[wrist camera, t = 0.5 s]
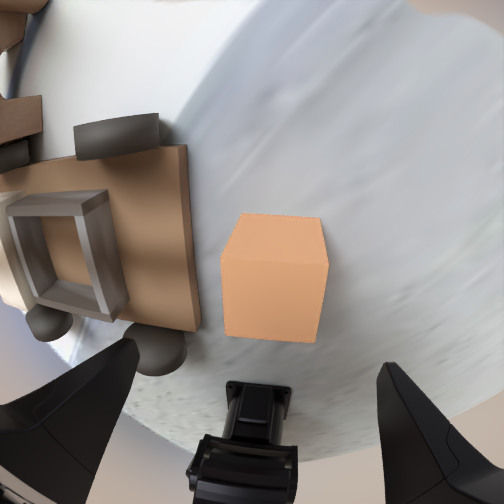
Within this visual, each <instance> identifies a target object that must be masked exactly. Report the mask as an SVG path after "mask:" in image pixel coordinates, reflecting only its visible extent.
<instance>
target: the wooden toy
mask: <svg viewBox="0 0 504 504" xmlns="http://www.w3.org/2000/svg"><path fill="white" fill-rule="evenodd" d="M47 2H48V0H0V55H1V54H2V52H5V51H7V50H8V49H10V48H11V47H13V46H14V45H16V44H17V43H19V42H20V41H22V40H23V38H24V30H25V23H26V17H27V14H34V13H37V12H39V11H40V10H41V9H42V8H43V7H44V6H45V5H46V3H47ZM42 131H43V127H42V107H41V95H38V96H29V97H21V98H15V99H9V100H6V99H5V98H3V97H2V95H1V94H0V148H3V147H6V146H9V145H12V144H15V143H18V142H21V141H22V138H23V137H26V136H30V135H33V134H36V133H39V132H42Z"/></svg>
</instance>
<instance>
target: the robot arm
mask: <svg viewBox="0 0 504 504" xmlns="http://www.w3.org/2000/svg"><path fill="white" fill-rule="evenodd" d="M139 360H140V352H139V349H138V346H137V343H136V341H135V339H133V338H129V337H124V338H122V339H120V340H119V341H117V342H115V343H114V344H112V345H110V346H109V347H107V348H105V349H104V350H102V351H101V352H99V353H97V354H96V355H94V356H92V357H91V358H89V359H87V360H86V361H84V362H82V363H81V364H79V365H77V366H76V367H74V368H73V369H71V370H69V371H68V372H66V373H64V374H63V375H61V376H59V377H58V378H56V379H54V380H53V381H51V382H49V383H48V384H46V385H44V386H43V387H41V388H39V389H37V390H35V391H33V392H31V393H29V394H27V395H25V396H22V397H20V398H18V399H16V400H14V401H12V402H10V403H7V404H4V405H0V504H85V503H86V500H87V497H88V494H89V492H90V489H91V486H92V483H93V480H94V478H95V475H96V472H97V470H98V467H99V464H100V462H101V459H102V457H103V454H104V452H105V449H106V446H107V444H108V442H109V439H110V437H111V434H112V432H113V429H114V427H115V425H116V422H117V420H118V418H119V415H120V413H121V410H122V408H123V406H124V404H125V401H126V399H127V397H128V394H129V392H130V389H131V386H132V382H133V379H134V376H135V373H136V370H137V367H138V364H139ZM376 384H377V412H378V425H379V433H380V441H381V450H382V460H383V470H384V482H385V500H386V504H504V469H501V468H499V467H497V466H495V465H493V464H492V463H491V462H490V461H489V460H487V459H486V458H485V457H484V456H483V455H482V454H481V453H480V452H479V451H478V450H477V449H475V448H474V447H473V446H472V445H471V444H470V443H469V442H468V441H467V440H466V439H465V438H464V437H463V436H462V435H461V434H460V433H459V432H458V430H456V428H455V427H454V426H453V425H452V424H450V422H449V420H448V419H447V418H446V417H445V416H444V415H443V414H442V413H441V411H440V410H439V409H438V408H437V407H436V406H435V405H434V404H433V403H432V401H431V400H430V399H429V398H428V397H427V396H426V395H425V394H424V393H423V392H422V390H421V389H420V388H419V387H418V386H417V385H416V384H415V383H414V382H413V381H412V379H411V378H410V377H409V376H408V375H407V374H406V373H405V372H404V371H403V370H402V369H401V368H400V367H399V365H398V364H397V363H395V362H385V363H384V364H383V365H382V368H381V370H380V372H379V374H378V377H377V382H376ZM226 394H227V403H228V414H227V419H226V423H225V427H224V431H223V435H222V438H220V437H215V436H211V435H209V434H205V436H204V438H203V439H202V440H200V442H199V445H198V448H197V452H196V454H195V456H194V458H193V460H192V461H191V463H190V465H189V467H188V468H187V470H186V476H187V477H188V479H189V489H190V491H192V492H194V498H193V504H293V503H294V499H295V496H296V490H297V482H298V446H293V445H292V446H282V445H281V439H282V429H283V420H285V419H286V415H287V411H288V406H289V401H290V396H291V388H289V387H281V386H269V385H258V384H249V383H240V382H232V381H228V382H227V383H226Z"/></svg>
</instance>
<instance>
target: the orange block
mask: <svg viewBox="0 0 504 504" xmlns="http://www.w3.org/2000/svg"><path fill="white" fill-rule="evenodd" d="M220 260H221V278H222V295H223V311H224V326H225V335H227V336H235V337H245V338H254V339H265V340H277V341H290V342H305V343H315V339H316V334H317V329H318V325H319V319H320V314H321V309H322V304H323V298H324V293H325V287H326V281H327V275H328V269H329V262H328V257H327V252H326V246H325V241H324V237H323V232H322V227H321V222H320V218H312V217H298V216H283V215H267V214H249V213H242V214H241V216H240V218H239V220H238V222H237V224H236V226H235V228H234V230H233V232H232V234H231V236H230V238H229V240H228V242H227V245H226V247H225V249H224V251H223V253H222V255H221V257H220Z"/></svg>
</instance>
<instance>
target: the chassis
mask: <svg viewBox="0 0 504 504" xmlns="http://www.w3.org/2000/svg"><path fill="white" fill-rule="evenodd" d="M73 129H74V141H75V151H76V155H74V156H68V157H62V158H56V159H51V160H45V161H40V162H35V163H31V164H28V163H30V157H29V148H28V140H25V141H22V142H19V143H15V144H12V145H9V146H6V147H3V148H0V295H1V297H2V299H3V301H4V303H5V304H8V305H11V306H13V307H16V308H18V309H21V310H24V311H27V313H26V322H27V324H28V325H29V327H30V329H31V331H32V333H33V335H34V337H35V338H36V339H37V340H39V341H42V342H50V341H54V340H56V339H59V338H60V337H62V336H63V335H65V334H66V333H67V332H68V331H69V329H70V328H71V326H72V324H73V317H72V315H71V313H73V314H77V315H81V316H85V317H89V318H93V319H97V320H102V321H106V322H110V323H113V322H114V321H115V319H116V318H117V319H122V320H127V321H132V322H135V323H133V324H132V325H131V326H129V327H128V329H127V330H126V331H125V333H124V335H123V338H124V337H129V338H133V339H135V341H136V343H137V346H138V349H139V352H140V360H139V364H138V367H137V370H136V371H137V372H139V373H141V374H143V375H146V376H163V375H166V374H169V373H171V372H173V371H175V370H176V369H178V368H179V367H180V366H181V365H182V364H183V362H184V361H185V359H186V356H187V348H186V343H185V338H184V333H183V330H184V331H190V332H197V330H198V327H199V325H200V323H201V313H200V305H199V297H198V288H197V279H196V270H195V260H194V250H193V239H192V227H191V214H190V200H189V185H188V167H187V145H168V146H160V138H159V113H151V114H141V115H133V116H126V117H119V118H113V119H107V120H101V121H96V122H91V123H86V124H82V125H78V126H74V127H73Z"/></svg>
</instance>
